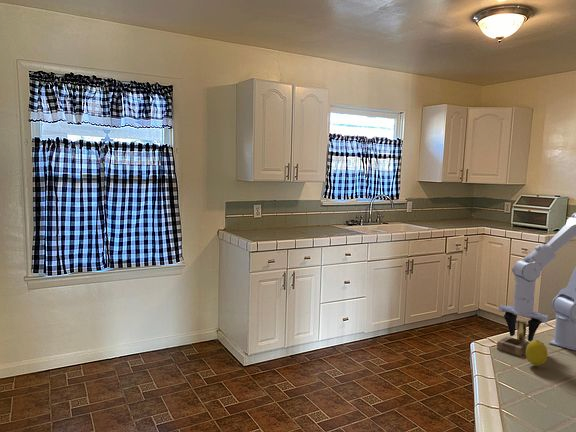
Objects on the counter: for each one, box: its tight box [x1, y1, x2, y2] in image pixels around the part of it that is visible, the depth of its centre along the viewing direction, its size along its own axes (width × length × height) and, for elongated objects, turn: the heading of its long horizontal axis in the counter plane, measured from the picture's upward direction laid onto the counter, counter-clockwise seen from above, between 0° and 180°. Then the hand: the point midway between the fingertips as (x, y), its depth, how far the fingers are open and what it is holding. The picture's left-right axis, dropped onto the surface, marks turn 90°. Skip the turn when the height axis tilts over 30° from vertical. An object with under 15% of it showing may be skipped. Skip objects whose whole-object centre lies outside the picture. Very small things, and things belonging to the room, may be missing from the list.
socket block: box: [496, 336, 530, 357], centre depth 140 cm, size 7×7×2 cm
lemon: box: [525, 339, 548, 368], centre depth 128 cm, size 6×6×8 cm
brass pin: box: [516, 319, 528, 342], centre depth 144 cm, size 2×2×8 cm
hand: (521, 337), depth 144 cm, fingers open, 5 cm apart
